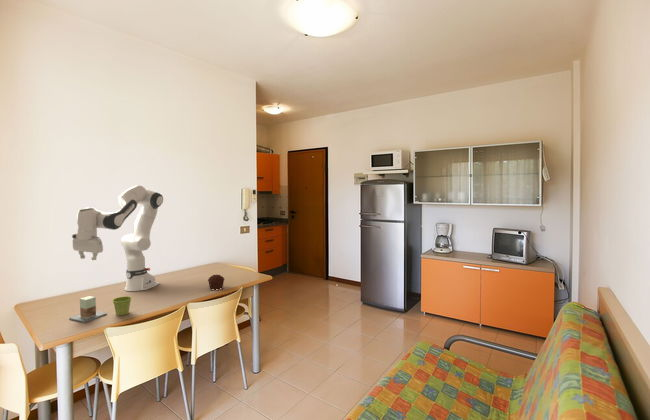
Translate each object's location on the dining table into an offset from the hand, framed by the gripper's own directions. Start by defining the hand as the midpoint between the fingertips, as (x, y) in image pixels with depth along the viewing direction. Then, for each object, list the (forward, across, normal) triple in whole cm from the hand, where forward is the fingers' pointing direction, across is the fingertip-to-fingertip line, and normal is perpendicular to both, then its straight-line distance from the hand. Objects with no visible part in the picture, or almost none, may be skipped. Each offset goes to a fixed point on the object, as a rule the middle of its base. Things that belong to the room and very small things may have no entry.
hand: (88, 259), depth 179 cm
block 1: (+25, -8, +6) cm, 27 cm away
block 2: (+30, -8, +6) cm, 31 cm away
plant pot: (+31, -21, -4) cm, 38 cm away
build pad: (+31, -8, +6) cm, 32 cm away
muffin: (+31, -40, -62) cm, 80 cm away
